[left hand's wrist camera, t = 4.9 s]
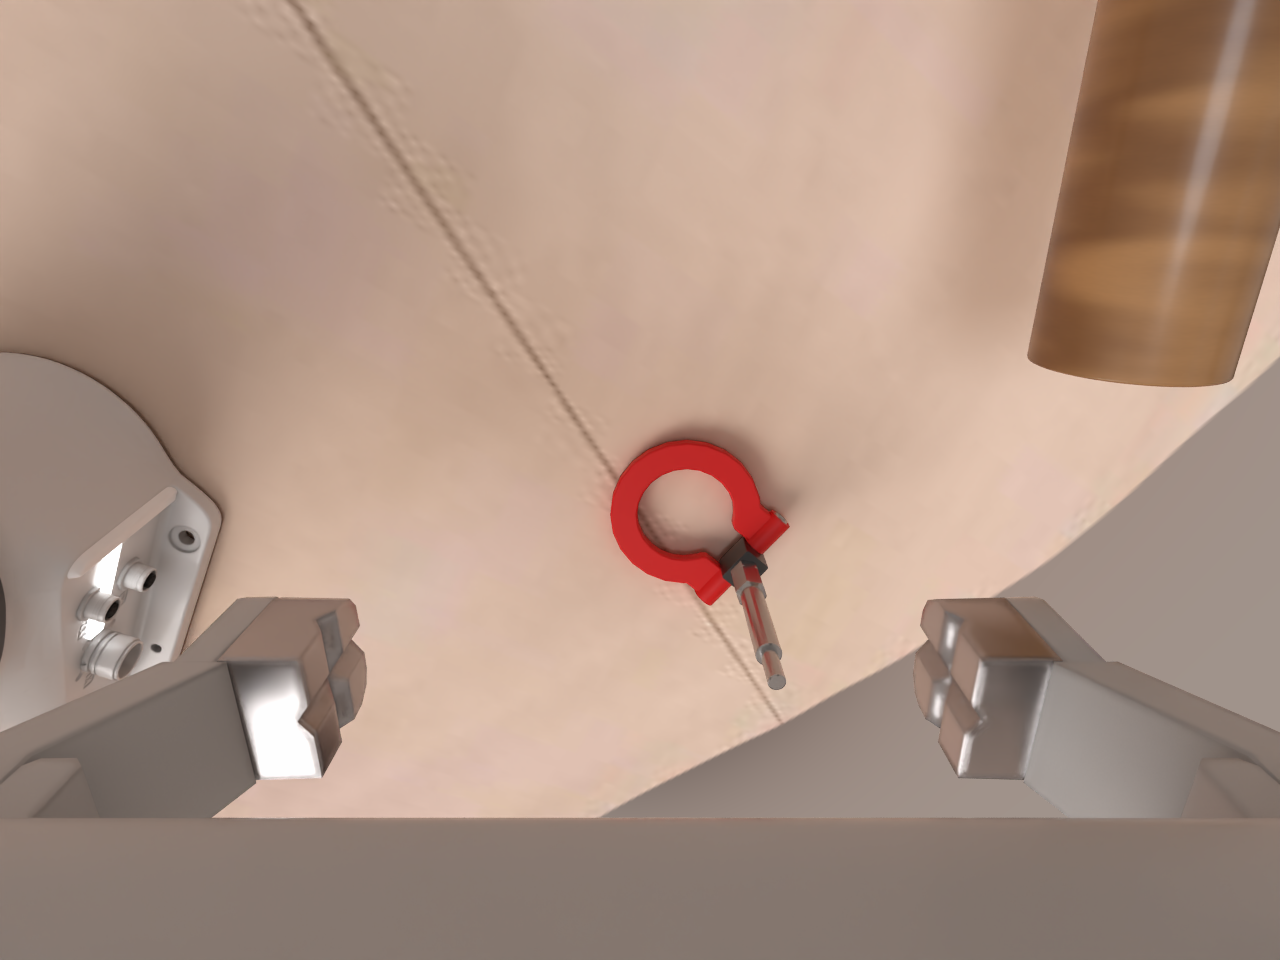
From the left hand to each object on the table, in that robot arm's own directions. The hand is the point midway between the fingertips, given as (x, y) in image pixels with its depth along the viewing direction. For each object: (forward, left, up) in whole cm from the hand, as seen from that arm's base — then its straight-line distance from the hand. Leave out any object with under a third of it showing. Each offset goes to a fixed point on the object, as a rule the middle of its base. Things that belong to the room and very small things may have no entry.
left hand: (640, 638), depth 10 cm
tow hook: (-10, -6, -29) cm, 31 cm away
